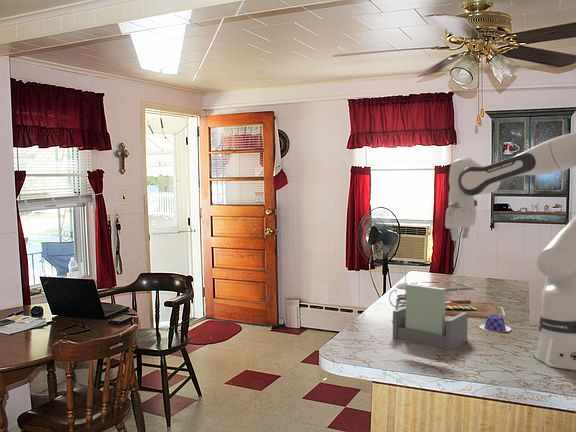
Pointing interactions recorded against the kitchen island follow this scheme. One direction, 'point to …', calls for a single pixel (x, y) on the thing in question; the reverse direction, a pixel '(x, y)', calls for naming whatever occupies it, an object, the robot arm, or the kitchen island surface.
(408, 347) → the kitchen island surface
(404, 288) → the french press
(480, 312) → the chopping board
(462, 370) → the kitchen island surface
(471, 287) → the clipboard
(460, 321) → the rack
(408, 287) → the tall panel
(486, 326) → the pudding
